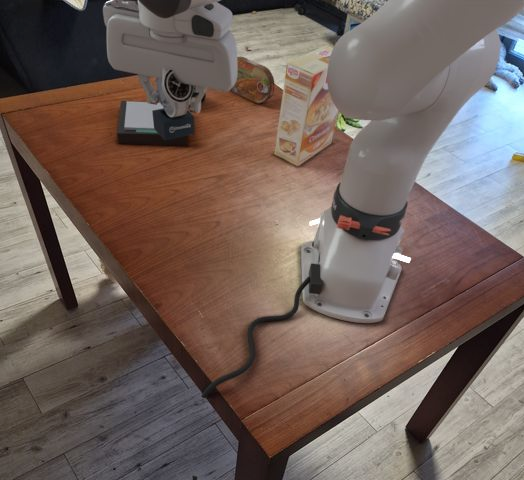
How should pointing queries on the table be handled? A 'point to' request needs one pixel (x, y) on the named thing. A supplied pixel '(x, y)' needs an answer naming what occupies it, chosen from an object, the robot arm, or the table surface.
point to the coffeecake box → (306, 108)
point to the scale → (141, 125)
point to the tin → (253, 81)
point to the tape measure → (197, 95)
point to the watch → (173, 107)
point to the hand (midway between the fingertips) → (174, 107)
